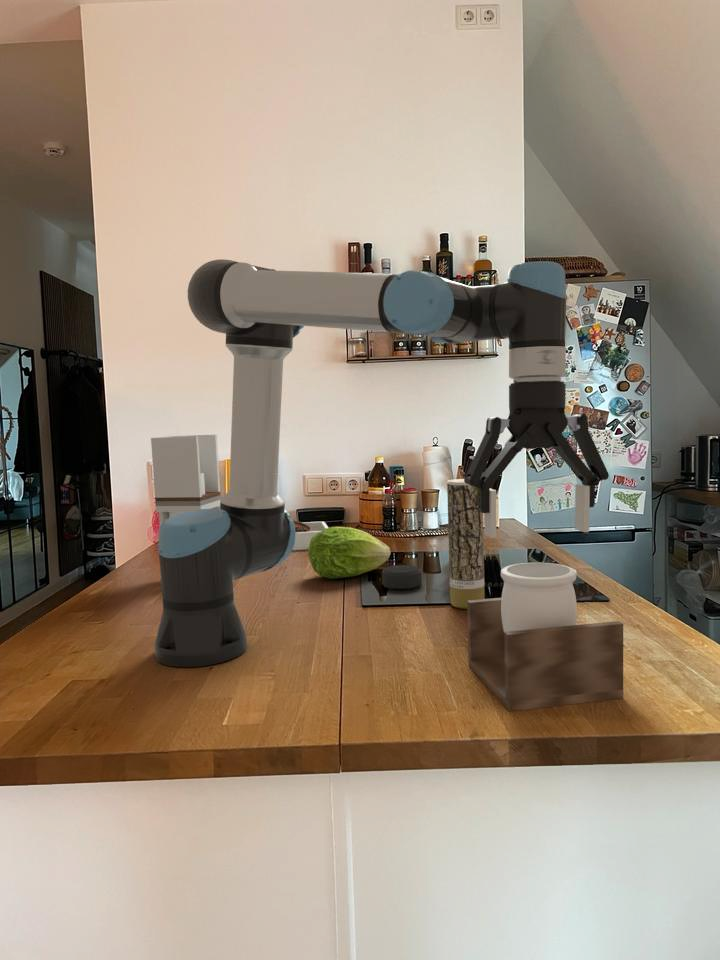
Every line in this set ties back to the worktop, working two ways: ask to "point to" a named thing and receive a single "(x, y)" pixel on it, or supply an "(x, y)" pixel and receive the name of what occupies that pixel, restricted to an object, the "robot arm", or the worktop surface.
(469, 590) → the paper tube
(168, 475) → the display case
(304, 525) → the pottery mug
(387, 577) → the smart speaker
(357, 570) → the lettuce
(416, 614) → the worktop surface
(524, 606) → the jar
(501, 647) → the holder
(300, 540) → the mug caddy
